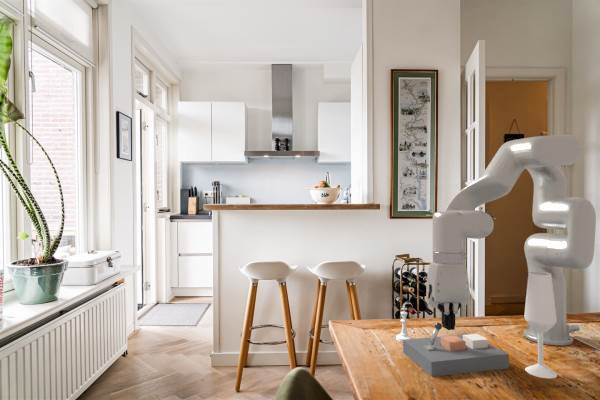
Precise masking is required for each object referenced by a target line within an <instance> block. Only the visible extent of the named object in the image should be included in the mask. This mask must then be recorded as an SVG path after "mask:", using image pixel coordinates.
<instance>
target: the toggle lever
mask: <svg viewBox="0 0 600 400" xmlns="http://www.w3.org/2000/svg"><path fill="white" fill-rule="evenodd" d="M442 328H443V326H442V323H440V322H435V324H434V329H433V331H432V333H431V339H430V341H429V345H430V346H433V345H434V342H435V340H436V337H438V335H439V332H440V330H441V329H442Z"/></svg>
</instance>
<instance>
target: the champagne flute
mask: <svg viewBox="0 0 600 400" xmlns="http://www.w3.org/2000/svg"><path fill="white" fill-rule="evenodd" d="M527 276H528V277H527V282H526V283H527V284H526V295H525V296H526V297H525V305H524V314H523V315H524V319H525V322H526V323H527V324H528V326H529V325H530V326H531V327H532V328H533V329H534V330H535V331H537V332H538V342H537V363H535V364H532V365H529V366H526V367H525V368H524V370H525V372H527V373H528V374H529V375H531V376H534V377H537V378H542V379H555V378H557V377H558V374H557V373H556V372H555V371H554V370H553V369H551V368H549V367H548V366H547V365H545V364H544V360H545V359H544V358H545V357H544V344H543V333H544V332H547V331H548V330H550V329H551V328H552V327H553V326H554V325H555V324H556V322H557V318H556V310H555V301H554V293H553V285H552V276H551V274H550V273H545V272H529V273H528V275H527Z"/></svg>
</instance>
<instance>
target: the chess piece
mask: <svg viewBox="0 0 600 400" xmlns="http://www.w3.org/2000/svg"><path fill="white" fill-rule="evenodd" d="M400 309H401V311H400V315H401V319H400V320H399V321H400V322H401V324H402V325H401V331H400V333H399V334H397V335H396V337H395V340H396V341H398V342H402V343H403V340H407V339H413V336H412V335H410V334H409V333H408V331H407V323H408V319H407V315H408V312H407V311H408V308H407V307H406V306H405V305H404V306H402V307H401V308H400Z"/></svg>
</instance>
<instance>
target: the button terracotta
mask: <svg viewBox="0 0 600 400" xmlns="http://www.w3.org/2000/svg"><path fill="white" fill-rule="evenodd" d="M444 336H445V335H444ZM440 337H441V346H443V347H444V348H446V349H447V350H449V351H458V350H466V341H464V340H462V339H461V338H459V337H457V336H454V335H446V336H445V337H442V336H440Z"/></svg>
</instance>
